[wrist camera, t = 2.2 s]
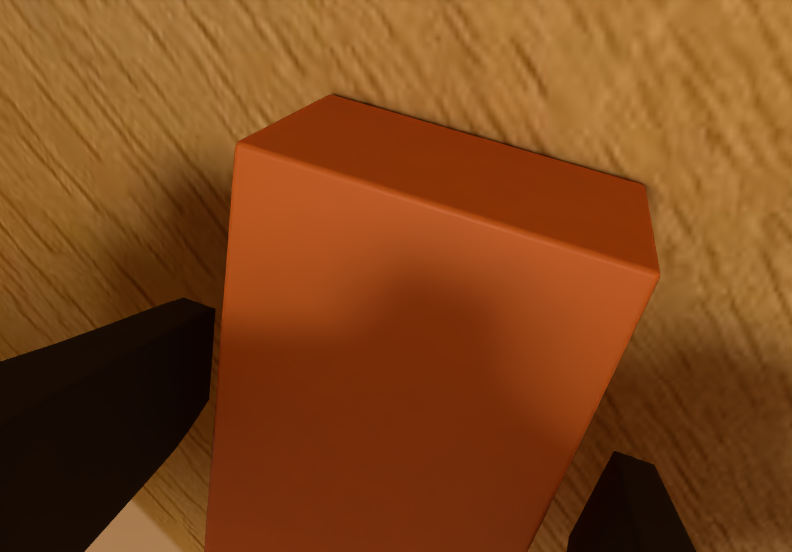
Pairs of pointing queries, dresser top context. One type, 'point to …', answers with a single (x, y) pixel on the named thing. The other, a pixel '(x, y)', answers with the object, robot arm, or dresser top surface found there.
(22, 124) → the dresser top surface
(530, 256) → the block
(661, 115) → the dresser top surface
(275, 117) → the dresser top surface
